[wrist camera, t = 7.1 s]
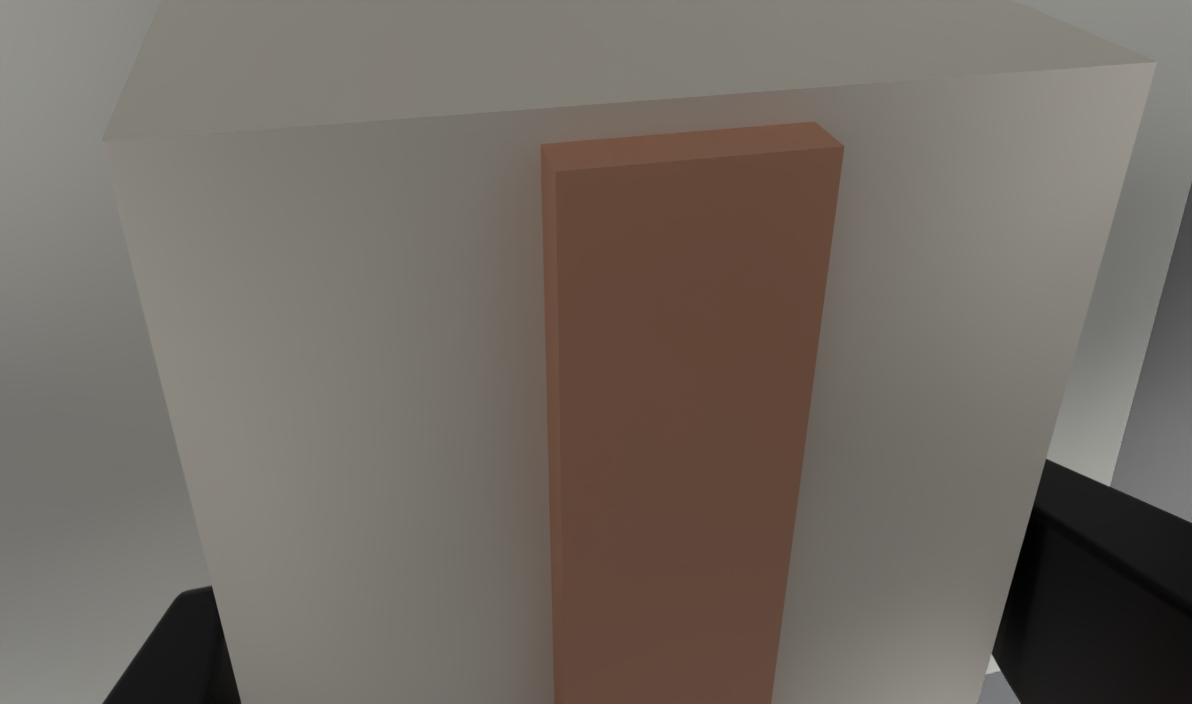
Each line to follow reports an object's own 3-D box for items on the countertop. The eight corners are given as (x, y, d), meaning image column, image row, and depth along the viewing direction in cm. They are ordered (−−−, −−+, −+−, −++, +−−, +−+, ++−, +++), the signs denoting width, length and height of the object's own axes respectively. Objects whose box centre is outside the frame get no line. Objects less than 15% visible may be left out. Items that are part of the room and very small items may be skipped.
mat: (1320, -426, 10) (1356, -431, 10) (1049, 636, 17) (1064, 654, 17) (-759, -329, 7) (-810, -330, 7) (-6, 896, 14) (-13, 923, 14)
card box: (786, 658, 14) (936, 953, 11) (322, 746, 13) (332, 1109, 10) (886, -56, 9) (1204, 81, 6) (169, -23, 8) (89, 170, 5)
